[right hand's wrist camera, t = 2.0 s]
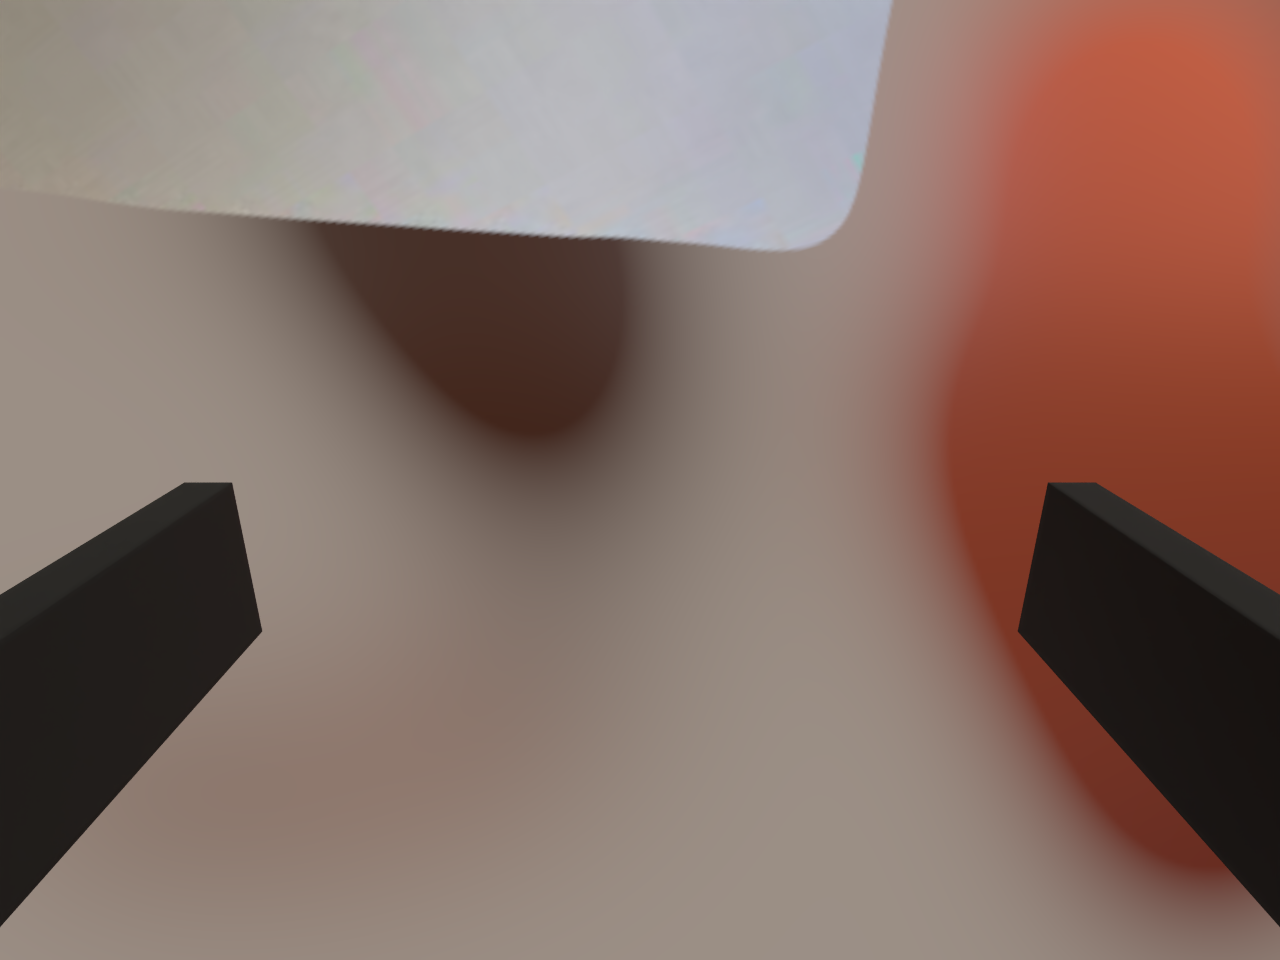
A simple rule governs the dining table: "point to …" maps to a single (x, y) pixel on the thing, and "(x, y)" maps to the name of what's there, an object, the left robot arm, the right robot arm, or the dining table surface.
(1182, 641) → the right robot arm
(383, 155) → the dining table surface
